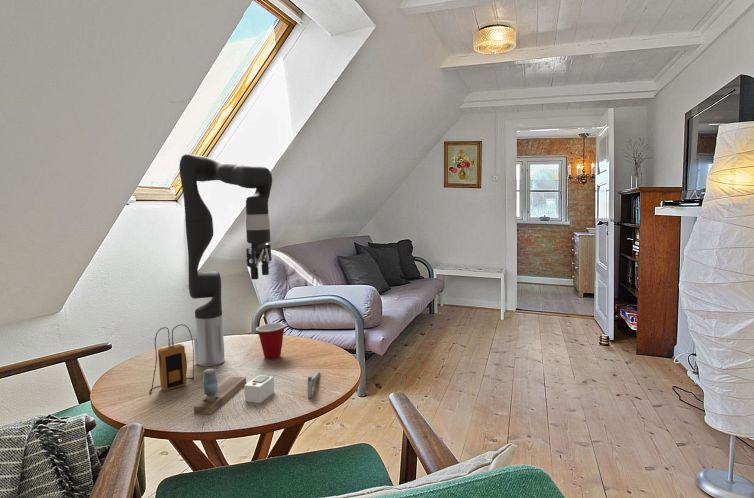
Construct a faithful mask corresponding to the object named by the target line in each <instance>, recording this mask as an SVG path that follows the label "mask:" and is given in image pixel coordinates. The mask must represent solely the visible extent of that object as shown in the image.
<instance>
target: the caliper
mask: <svg viewBox="0 0 754 498" xmlns="http://www.w3.org/2000/svg"><path fill="white" fill-rule="evenodd" d="M320 374H321V372H320V371H319V370H318V371H315V373H314V374H313V375H312V376H308V377H307V398H308V399H312V397H313V389H314V386H315V383H316V381H317V380H318V378H320Z"/></svg>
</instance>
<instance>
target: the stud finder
mask: <svg viewBox="0 0 754 498" xmlns="http://www.w3.org/2000/svg"><path fill="white" fill-rule="evenodd" d="M274 378H275V377H274V376H268V375H261V374H259V375H258V376H256V377H254V378H253V379H251V380H250V381H249V382H246V384H245V385H244V386H243V387H244V402H251V403H257V404H261V403H262V402H264V401H265V400H266V399H267V398H269V397H270V396H271V395H272V394H274V393H275V379H274Z"/></svg>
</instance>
